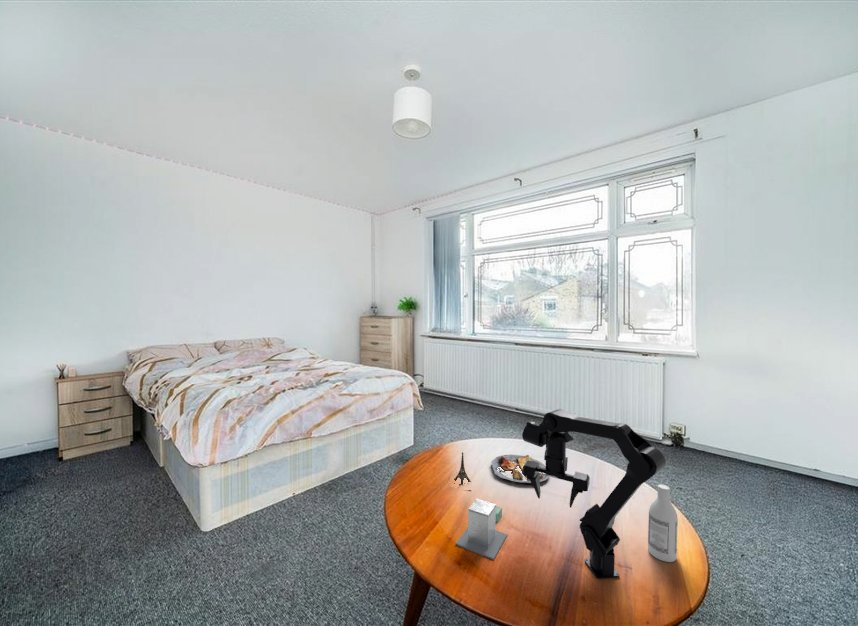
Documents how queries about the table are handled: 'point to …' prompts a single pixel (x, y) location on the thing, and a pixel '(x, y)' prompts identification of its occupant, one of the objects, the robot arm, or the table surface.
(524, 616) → the table surface
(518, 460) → the food plate
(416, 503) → the table surface
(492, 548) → the rubber mat
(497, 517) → the pale green block
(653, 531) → the bath foam
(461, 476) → the eiffel tower figurine
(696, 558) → the table surface
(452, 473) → the table surface
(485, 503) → the silver grey block
